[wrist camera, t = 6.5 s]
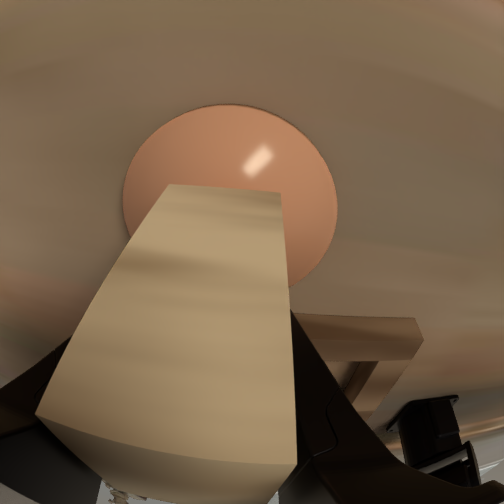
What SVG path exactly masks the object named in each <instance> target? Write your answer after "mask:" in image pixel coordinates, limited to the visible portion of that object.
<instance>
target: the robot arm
mask: <svg viewBox="0 0 504 504" xmlns="http://www.w3.org/2000/svg"><path fill="white" fill-rule="evenodd" d="M290 318H291V334H292V351H293V370H294V391H295V415H296V444H297V465H296V466H295V468H294V469H293V471H292V472H291V473H290V475H289V476H288V477H287V479H286V480H285V481H284V483H283V484H282V485H281V487H280V488H279V489H278V495H279V504H499V503H501V502H503V501H504V485H503V484H501V483H498V482H497V481H495V480H492V481H489V482H486V483H484V484H481V479H480V473H479V468H478V463H477V459H476V456H475V452H474V449H473V446H472V444H471V443H470V441H467V442H465V444H463V445H462V443H461V439H460V436H459V431H460V430H459V427H458V423H457V420H456V417H455V414H454V411H453V408H452V406H453V405H454V404H455V403H456V402H457V401H458V400H459V397H458V395H454V396H448V397H441V398H434V399H427V400H419V401H413V402H411V403H409V404H408V405H407V406H406V408H405V409H404V410H403V411H402V412H401V413H400V414H399V415H398V417H397V418H396V419H395V420H394V421H393V422H392V423H391V424H390V425H389V426H388V427H387V428H386V430H387V433H391V432H398V431H399V435H400V439H401V444H402V449H403V454H404V459H405V464H404V463H403V462H401V461H400V460H398V459H397V458H396V457H395V456H394V455H393V454H392V453H391V452H390V451H389V450H388V448H387V447H386V446H385V445H384V444H383V443H382V441H381V440H380V439H379V438H378V437H377V435H376V434H375V433H374V432H373V431H372V430H371V428H370V427H369V426H368V425H367V424H366V422H365V421H364V420H363V419H362V417H361V416H360V415H359V414H358V412H357V411H356V410H355V408H354V407H353V405H352V404H351V402H350V401H349V399H348V398H347V397H346V395H345V393H344V392H343V390H342V389H341V388H339V387H340V386H339V384H338V383H337V381H336V379H335V378H334V376H333V375H332V373H331V372H330V370H329V369H328V367H327V365H326V364H325V362H324V361H323V359H322V358H321V356H320V354H319V353H318V351H317V350H316V348H315V347H314V345H313V344H312V342H311V340H310V339H309V337H308V336H307V334H306V333H305V331H304V330H303V328H302V326H301V325H300V323H299V322H298V320H297V319H296V317H295V315H294V314H293V312H292V311H291V309H290ZM72 336H73V335H72ZM72 336H71V337H69V338H68V339H67V340H66V341H64V342H63V343H62V344H61V345H59V346H58V347H57V348H56V349H55V351H54V350H53V351H52V352H51V353H49V354H48V355H47V356H46V357H44V358H43V359H42V360H40V361H39V362H38V363H37V364H35V365H34V366H33V367H31V368H30V369H28V370H27V371H26V372H24V373H23V374H21V375H20V376H18V377H17V378H15V379H14V380H12V381H11V382H9V383H8V384H6V385H5V386H4V387H2V388H1V389H0V504H96V501H97V497H98V493H99V489H100V484H101V480H102V477H100V476H99V475H98V474H97V473H95V472H94V471H93V470H92V469H91V468H90V467H88V466H87V465H86V464H85V463H84V462H83V461H82V460H80V459H79V458H78V457H77V456H76V455H75V454H74V453H73V452H72V451H71V450H69V449H68V448H67V447H66V446H65V445H64V444H63V443H62V442H61V441H60V440H59V439H58V438H57V437H56V436H55V435H54V434H53V433H52V432H51V431H50V430H49V429H48V428H47V427H46V426H45V424H44V423H43V422H42V421H41V420H40V419H39V418H38V417H37V416H36V415H35V413H36V410H37V408H38V406H39V404H40V401H41V399H42V397H43V395H44V392H45V390H46V388H47V386H48V384H49V382H50V380H51V378H52V375H53V373H54V371H55V369H56V367H57V365H58V363H59V361H60V359H61V357H62V355H63V353H64V351H65V349H66V347H67V346H68V344H69V342H70V340H71V338H72ZM467 456H468V459H467V460H465V461H462V459H463V458H465V457H467Z"/></svg>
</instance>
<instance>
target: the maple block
mask: <svg viewBox="0 0 504 504" xmlns="http://www.w3.org/2000/svg"><path fill="white" fill-rule="evenodd" d="M35 415H36V416H37V417H38V418H39V419H40V420H41V421H42V422H43V423H44V424H45V426H46V427H47V428H48V429H49V430H50V431H51V432H52V433H53V434H54V435H55V436H56V437H57V438H58V439H59V440H60V441H61V442H62V443H63V444H64V445H65V446H66V447H67V448H68V449H69V450H71V451H72V452H73V453H74V454H75V455H76V456H77V457H78V458H79V459H80V460H82V461H83V462H84V463H85V464H86V465H87V466H88V467H90V468H91V469H92V470H93V471H94V472H95V473H97V474H98V475H99V476H100V477H102V478H103V479H104V480H105V481H107V482H108V483H109V484H110V485H112V486H113V487H114V488H116V489H117V490H119V491H123V492H127V493H130V494H134V495H138V496H142V497H147V498H151V499H156V500H160V501H166V502H171V503H176V504H267V503H268V502H269V501H270V499H271V498H272V497H273V496H274V494H275V493H276V492H277V490H278V489H279V488H280V487H281V485H282V484H283V483H284V481H285V480H286V479H287V477H288V476H289V475H290V473H291V472H292V471H293V469H294V468H295V466H296V465H297V444H296V415H295V391H294V370H293V351H292V334H291V318H290V303H289V289H288V275H287V262H286V250H285V238H284V226H283V215H282V204H281V193H279V192H269V191H258V190H247V189H235V188H222V187H209V186H193V185H176V184H169V185H168V186H167V188H166V189H165V190H164V192H163V193H162V194H161V196H160V197H159V199H158V200H157V201H156V203H155V204H154V206H153V207H152V208H151V210H150V211H149V213H148V214H147V216H146V217H145V218H144V220H143V221H142V223H141V224H140V226H139V227H138V229H137V230H136V232H135V233H134V235H133V236H132V238H131V239H130V241H129V242H128V244H127V245H126V247H125V248H124V250H123V251H122V253H121V254H120V256H119V258H118V259H117V261H116V262H115V264H114V266H113V267H112V269H111V270H110V272H109V274H108V275H107V277H106V278H105V280H104V282H103V283H102V285H101V287H100V288H99V290H98V292H97V293H96V295H95V297H94V299H93V300H92V302H91V304H90V305H89V307H88V309H87V311H86V312H85V314H84V316H83V318H82V320H81V321H80V323H79V325H78V327H77V329H76V330H75V332H74V334H73V336H72V338H71V340H70V342H69V344H68V346H67V347H66V349H65V351H64V353H63V355H62V357H61V359H60V361H59V363H58V365H57V367H56V369H55V371H54V373H53V375H52V378H51V380H50V382H49V384H48V386H47V388H46V390H45V392H44V395H43V397H42V399H41V401H40V404H39V406H38V408H37V410H36V413H35Z"/></svg>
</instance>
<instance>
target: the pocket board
mask: <svg viewBox="0 0 504 504" xmlns="http://www.w3.org/2000/svg"><path fill="white" fill-rule="evenodd" d="M293 314H294V315H295V317H296V319H297V320H298V322H299V323H300V325H301V326H302V328H303V330H304V331H305V333H306V334H307V336H308V337H309V339H310V340H311V342H312V344H313V345H314V347H315V348H316V350H317V351H318V353H319V354H320V356H321V358H322V359H323V361H361V362H360V364H359V366H358V367H357V369H356V371H355V373H354V375H353V377H352V378H351V380H350V382H349V384H348V385H347V387H346V389H345V391H344V393H345V395H346V397H347V398H348V399H349V401H350V402H351V404H352V405H353V407H354V408H355V410H356V411H357V412H358V414H359V415H360V416H361V417H362V419H363V420H364V421H367V419H368V418H369V417H370V416H371V414H372V413H373V412H374V411H375V409H376V408H377V407H378V406H379V404H380V403H381V402H382V400H383V399H384V398H385V396H386V395H387V394H388V392H389V391H390V390H391V388H392V387H393V386H394V384H395V383H396V381H397V380H398V379H399V377H400V376H401V374H402V373H403V371H404V370H405V369H406V367H407V366H408V364H409V363H410V361H411V360H412V358H413V357H414V355H415V353H416V352H417V350H418V349H419V347H420V346H421V344H422V342H423V341H424V339H423V337H422V334H421V332H420V329H419V327H418V325H417V322H416V320H415V318H383V317H352V316H330V315H312V314H296V313H293Z"/></svg>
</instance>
